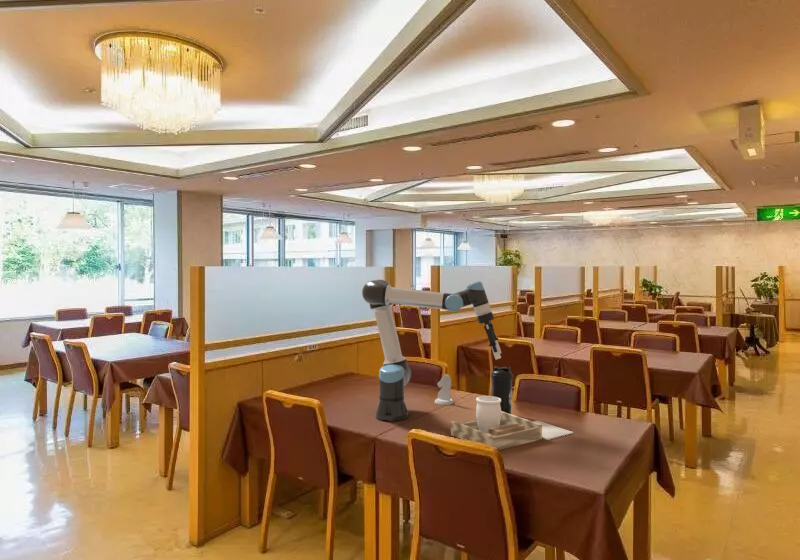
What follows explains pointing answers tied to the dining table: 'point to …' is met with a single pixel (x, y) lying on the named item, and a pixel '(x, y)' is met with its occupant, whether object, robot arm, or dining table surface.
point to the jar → (488, 412)
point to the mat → (552, 431)
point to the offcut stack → (506, 429)
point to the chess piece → (444, 391)
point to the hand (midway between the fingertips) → (498, 356)
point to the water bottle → (502, 387)
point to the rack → (503, 441)
